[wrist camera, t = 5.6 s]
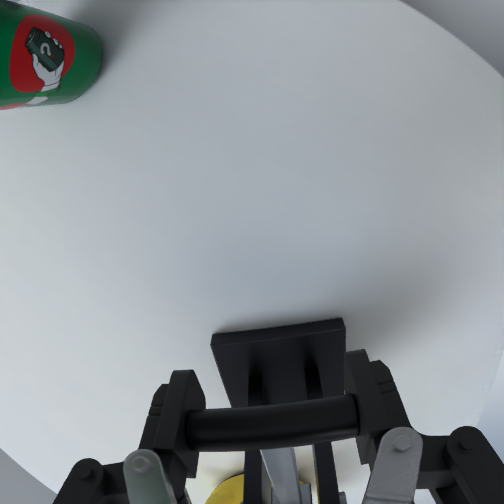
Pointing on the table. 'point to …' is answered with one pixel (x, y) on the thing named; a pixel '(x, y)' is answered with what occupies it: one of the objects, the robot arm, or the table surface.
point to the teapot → (229, 491)
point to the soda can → (44, 57)
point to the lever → (275, 435)
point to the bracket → (284, 387)
